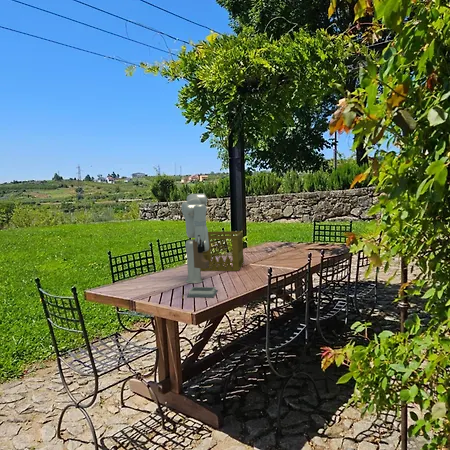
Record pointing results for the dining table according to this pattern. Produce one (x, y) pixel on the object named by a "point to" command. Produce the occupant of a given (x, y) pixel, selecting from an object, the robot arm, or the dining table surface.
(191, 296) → the end cap
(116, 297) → the dining table surface
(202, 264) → the wooden block
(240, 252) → the milk crate
